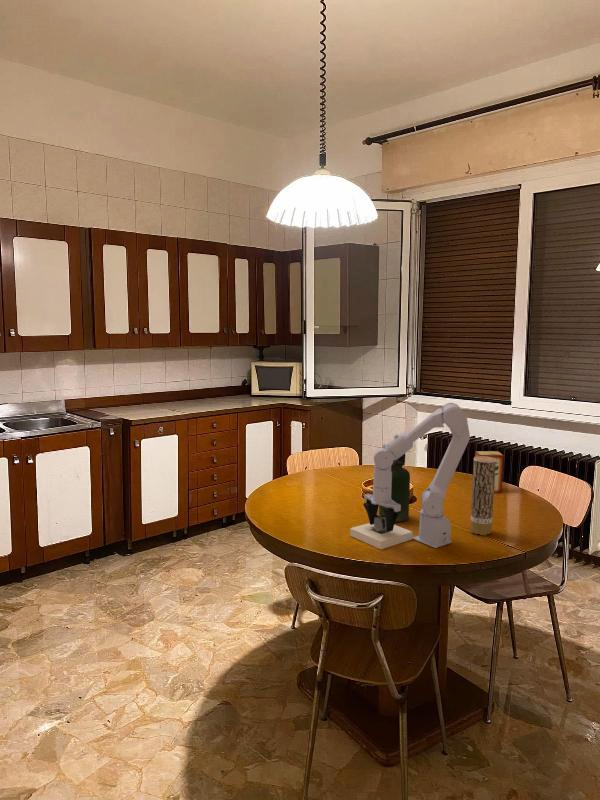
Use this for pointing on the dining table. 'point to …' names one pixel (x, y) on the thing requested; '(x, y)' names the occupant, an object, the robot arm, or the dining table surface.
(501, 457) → the baking soda box
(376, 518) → the peg
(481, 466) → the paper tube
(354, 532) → the socket
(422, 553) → the dining table surface
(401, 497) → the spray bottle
